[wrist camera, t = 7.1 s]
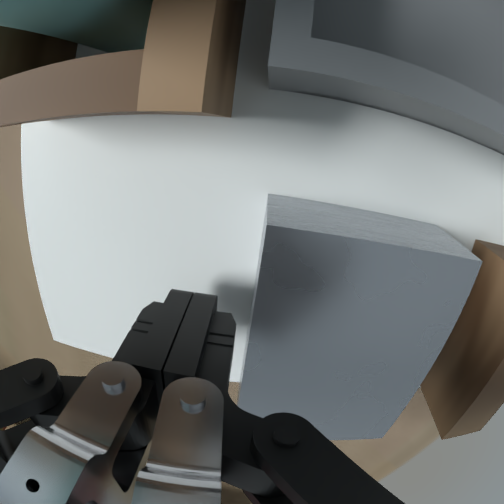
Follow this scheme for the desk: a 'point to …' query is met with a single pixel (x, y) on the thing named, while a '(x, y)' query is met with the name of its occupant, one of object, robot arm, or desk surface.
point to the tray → (398, 59)
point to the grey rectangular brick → (348, 314)
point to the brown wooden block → (472, 354)
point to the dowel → (82, 21)
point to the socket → (127, 68)
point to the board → (224, 193)
